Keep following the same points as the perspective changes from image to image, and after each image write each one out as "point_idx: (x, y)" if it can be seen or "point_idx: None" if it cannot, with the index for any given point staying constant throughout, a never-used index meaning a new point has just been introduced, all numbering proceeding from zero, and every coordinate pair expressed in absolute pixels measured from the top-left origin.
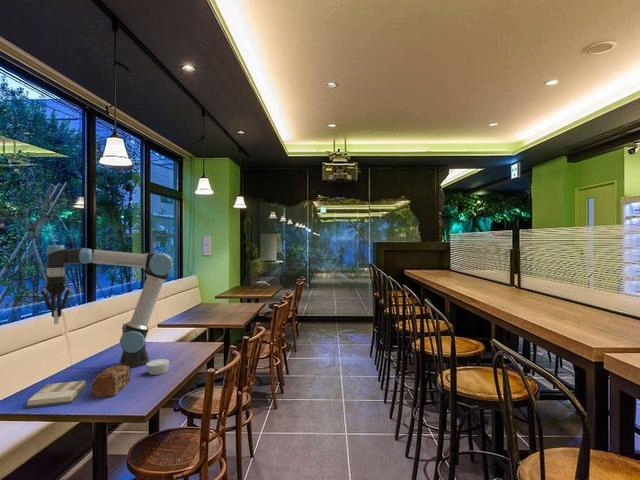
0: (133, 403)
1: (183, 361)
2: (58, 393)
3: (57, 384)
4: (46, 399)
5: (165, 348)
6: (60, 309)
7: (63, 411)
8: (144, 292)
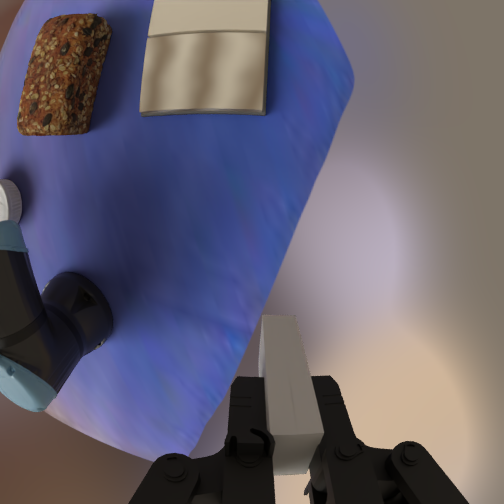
0: (45, 6)
1: None
2: (194, 13)
3: (222, 93)
4: None
5: (66, 396)
6: (222, 457)
7: None
8: None
